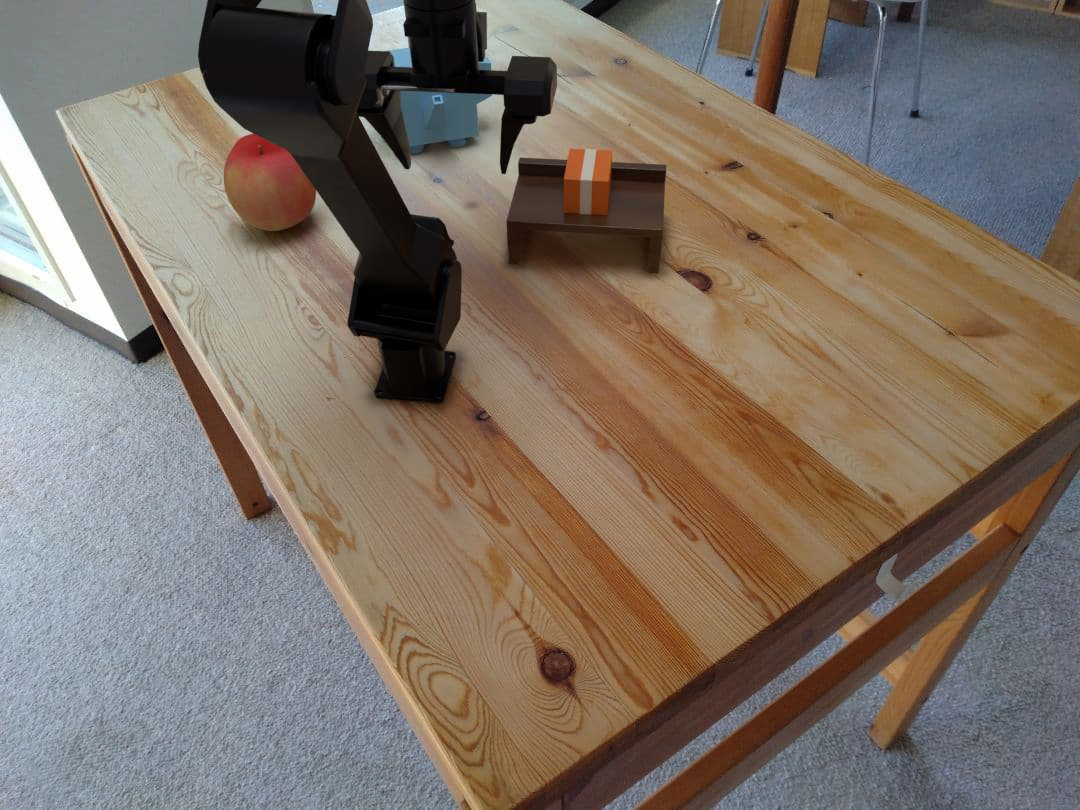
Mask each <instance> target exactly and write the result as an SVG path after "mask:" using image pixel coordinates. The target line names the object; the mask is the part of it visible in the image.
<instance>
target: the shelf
mask: <svg viewBox="0 0 1080 810" xmlns="http://www.w3.org/2000/svg"><path fill="white" fill-rule="evenodd" d="M567 160H568V159H560V158H559V159H558V158H557V159H556V158H538V157H519V159H518V162H517V173H518V176H517V180H516V184H515V187H514V191H513V195H512V199H511V203H510V205H509V206H510V207H509V210H508V214H507V217H506V220H505V221H506V240H507V255H508V257H507V258H508V265H515V266H520V265H521V261H522V257H523V253H524V249H525V248H524V247H525V244H526V239H527V234H528V231H534V232H553V233H569V234H587V235H602V236H603V235H604V236H605V235H606V236H620V237H621V236H622V237H638V238H648V255H647V268H646V269H647V272H646V273H648V274H660V265H661V264H660V263H661V255H662V246H663V238H664V237H663V235H664V219H665V197H666V196H665V195H666V179H667V169H668V168H667V164H662V163H641V162H619V161H612V171H611V187H610V195H609V204H608V212H607V215H593V214H591V215H588V214H574V213H564V176H565V170H566V165H567Z"/></svg>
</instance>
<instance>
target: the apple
mask: <svg viewBox="0 0 1080 810" xmlns="http://www.w3.org/2000/svg"><path fill="white" fill-rule="evenodd" d="M223 185H224V190H225V194H226V197H227V200H228V201H229V204H230V205H231V207H232V209H233V210H234V212H236V214H237V215H239V217H240V218H241V219H242V220H243V221H245V222H246V223H247V224H249V225H251V226H252V227H254V228H257V229H259V230H263V231H267V232H268V231H269V232H279V231H283V230H286V229H289V228H292V227H294V226H296V225H298V224H300V223H301V222H303V221H304V220H305V219H306V218H307V217H308V216H309V215H310V214H311V213H312V211H313V209H314V206H315V204H316V197H317V191H316V189H315V188H314V187H313V185H312V184H311V182H310V181H309V179H308V178H307V177H306V175H305V174H304V172H303V171H302V169H301V168H300V167H299V165H298V164H297V162H296V161H295V159H294V158H293V156H292V155H291V154H290V153H289V152H288V151H286V150H285V149H283V148H281V147H279V146H277V145H275V144H273V143H271V142H269V141H267V140H265V139H263V138H261V137H259V136H257V135H255V134H253V133H250V134H246V135H243V136H241V137H240V138H239V139H237V141H236V142H235V143H234V144H233V147H232V148H231V150H230V151H229V153H228V155H227V157H226V160H225V162H224V168H223Z"/></svg>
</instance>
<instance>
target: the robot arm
mask: <svg viewBox="0 0 1080 810" xmlns="http://www.w3.org/2000/svg"><path fill="white" fill-rule="evenodd" d="M206 1H207V2H206V6H205V11H204V16H203V20H202V26H201V30H200V36H199V41H198V51H197V59H198V66H199V70H200V73H201V76H202V80H203V82H204V84H205V88H206V90H207V91H208V93H209V95H210V96H211V98H212V100H213V102H214V103H215V104H216V105H217V106H218V107H219V109H221V110H222V111H224V112H225V113H226V114H227V115H228V116H229V117H230V118H231V119H232V120H234V121H235V122H236V123H237V124H238V125H239V126H240V127H242V128H243V129H244V130H245V131H248V132H249V133H250V134H255V135H257V136H259V137H261V138H263V139H265V140H267V141H269V142H271V143H273V144H275V145H277V146H279V147H281V148H283V149H285V150H286V151H288V152H289V153H290V154H291V155H292V156H293V158H294V159H295V161H296V162H297V164H298V165H299V167H300V168H301V169H302V171H303V172H304V174H305V175H306V177H307V178H308V179H309V181H310V182H311V184H312V185H313V187H314V188H315V189H316V193H317V194H318V195H319V197H320V198H321V200H322V201H323V203H324V204H325V205H326V207H327V208H328V210H329V211H330V212H331V214H332V216H333V217H334V219H336V221H337V222H338V224H339V225H340V227H341V229H343V231H344V232H345V234H346V235H347V237H348V238H349V239H350V241H351V242H352V244H353V246H354V247H355V248H356V250H357V251H358V257H357V260H356V262H355V265H354V269H353V272H352V274H353V276H354V280H353V286H352V292H351V299H350V304H349V305H350V306H349V311H348V318H347V321H346V322H347V327H348V329H349V330H350V333H352V335H353V336H354V337H359V338H360V337H365V338H371V339H376V341H377V346H378V350H379V356H380V360H381V364H382V369H381V371H380V374H379V377H378V380H377V382H376V385H375V388H374V391H373V394H374V397H375V399H380V400H392V401H403V402H404V401H405V402H418V403H427V404H428V403H430V404H442V403H443V402H444V401H445V400H446V396H447V393H448V390H449V386H450V382H451V379H452V375H453V371H454V367H455V365H456V360H457V354H456V352H455V351H452V350H446V349H447V347H448V344H449V343H450V340H451V338H452V336H453V334H454V332H455V330H456V329H457V326H458V324H459V322H460V320H461V317H462V316H461V315H462V288H463V287H462V286H463V285H462V284H463V268H462V264H461V262H460V261H459V260H458V257H457V254H456V252H455V250H454V248H453V247H454V245H455V240H454V239H451V237H450V235H449V233H448V228H447V226H446V223H444V221H443V220H441V218H440V217H434V216H427V215H419V214H412V213H411V212H410V210H409V209H408V207H407V204H406V203H405V201H404V199H403V198H402V196H401V194H400V191H399V190H398V188H397V186H396V184H395V182H394V181H393V179H392V177H391V174H390V173H389V171H388V169H387V167H386V166H385V163H384V162H383V160H382V157H381V156H380V154H379V152H378V150H377V148H376V147H375V144H374V143H373V141H372V139H371V137H370V135H369V134H368V131H367V130H366V127H365V125H364V124H363V122H362V120H361V118H364V120H366V122H368V123H369V125H370V126H371V127H372V128H373V129H374V130H375V131H376V133H378V135H379V136H380V137H381V138H382V139H383V141H384V142H385V144H386V145H387V146H388V148H389V149H390V150H391V151H392V153H393V155H394V156H395V157H396V158H397V160H398V162H399V163H400V164H401V165H402V167H403V168H404V170H410V168H411V166H412V153H411V152H410V146H409V141H408V136H407V132H406V127H405V123H404V118H403V114H402V109H401V92H400V91H421V92H445V93H469V94H492V95H496V96H497V95H498V96H503V107H504V108H503V112H502V115H501V121H500V123H501V124H500V146H499V147H500V148H499V167H500V173H501V175H506V174H507V171H508V167H509V163H510V160H511V156H512V153H513V149H514V146H515V144H516V141H517V139H518V138H519V135H520V133H521V131H522V129H523V127H524V125H533V124H535V123H536V122H537V119H538V117H545V116H548V115H551V114H552V109H553V106H554V101H555V97H556V93H557V88H558V66H557V64H556V62H555V61H554V60H553V59H552V57H550V56H527V55H511V58H510V61H509V64H508V67H507V69H506V70H495V69H493V70H492V69H491V70H479V62H483V61H484V58H485V57H486V50H487V49H488V13H487V11H477V3H476V0H402V1H403V6H404V7H403V10H404V15H405V20H404V21H403V24H402V25H403V31H404V34H403V35H404V38H407V41H408V40H409V46H408V48H409V47H410V55H411V63H412V67H395V63H394V57H393V55H392V54H391V53H390V51H389V50H370V44H371V39H372V33H373V28H374V19H373V15H372V14H371V10H370V7H369V4H368V0H337V1H338V2H337V7H336V12H335V15H333V14H330V13H329V14H328V13H319V12H308V11H298V10H286V9H275V8H266V7H259V5H260V3H261V2H262V1H263V0H206Z"/></svg>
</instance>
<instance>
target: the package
mask: <svg viewBox="0 0 1080 810" xmlns="http://www.w3.org/2000/svg"><path fill="white" fill-rule="evenodd" d="M566 160H567V165H566V170H565V176H564V213H574V214H588V215H591V214H593V215H607V212H608V204H609V195H610V187H611V171H612V162H613V149H612V150H611V149H594V148H571V147H569V150H568V155H567V159H566Z"/></svg>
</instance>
